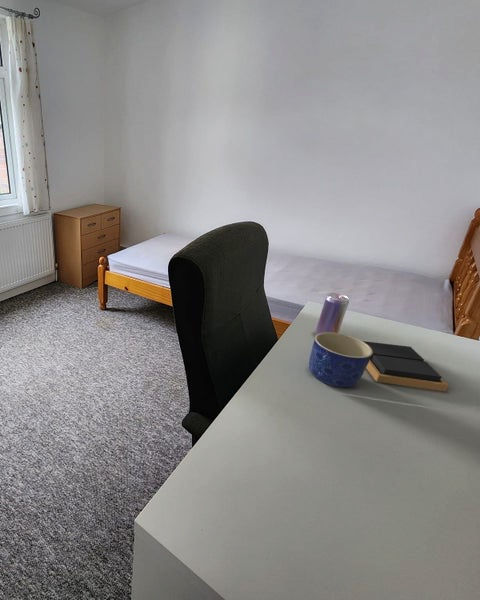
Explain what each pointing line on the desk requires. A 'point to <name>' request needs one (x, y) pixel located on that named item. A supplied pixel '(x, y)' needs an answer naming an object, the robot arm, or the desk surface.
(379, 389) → the desk surface
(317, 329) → the beverage can
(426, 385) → the frame
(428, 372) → the loose pad
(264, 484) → the desk surface
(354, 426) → the desk surface
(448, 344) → the desk surface
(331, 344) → the planter
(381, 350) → the pad
